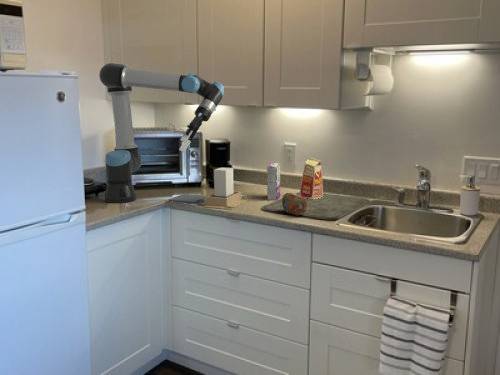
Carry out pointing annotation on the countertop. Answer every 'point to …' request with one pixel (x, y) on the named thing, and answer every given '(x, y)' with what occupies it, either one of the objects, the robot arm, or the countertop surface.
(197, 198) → the board
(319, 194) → the milk carton
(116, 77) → the robot arm
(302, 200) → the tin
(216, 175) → the box
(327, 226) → the countertop surface
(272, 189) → the candy bar box
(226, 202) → the carton
